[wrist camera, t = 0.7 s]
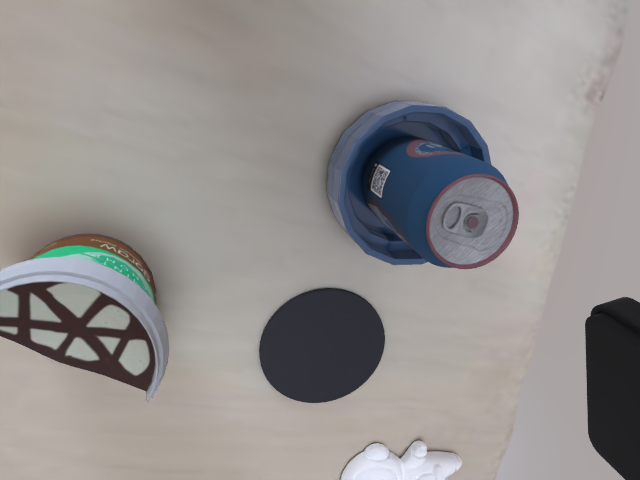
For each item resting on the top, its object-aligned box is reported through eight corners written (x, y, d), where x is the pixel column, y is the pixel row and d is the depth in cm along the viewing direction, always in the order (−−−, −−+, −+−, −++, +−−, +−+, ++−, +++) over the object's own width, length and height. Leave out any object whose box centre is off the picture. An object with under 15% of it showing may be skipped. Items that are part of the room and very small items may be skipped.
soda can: (453, 147, 41) (547, 181, 30) (423, 228, 43) (501, 288, 32) (374, 123, 39) (443, 149, 28) (346, 209, 41) (401, 266, 30)
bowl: (332, 96, 38) (346, 100, 35) (477, 105, 41) (505, 110, 37) (320, 247, 42) (332, 265, 38) (454, 246, 45) (477, 263, 41)
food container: (203, 264, 40) (205, 326, 31) (165, 328, 41) (156, 406, 32) (43, 186, 36) (-10, 231, 27) (4, 259, 37) (-59, 327, 28)
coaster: (261, 289, 42) (262, 291, 42) (390, 286, 45) (391, 288, 44) (257, 404, 46) (257, 407, 45) (376, 395, 48) (377, 398, 48)
